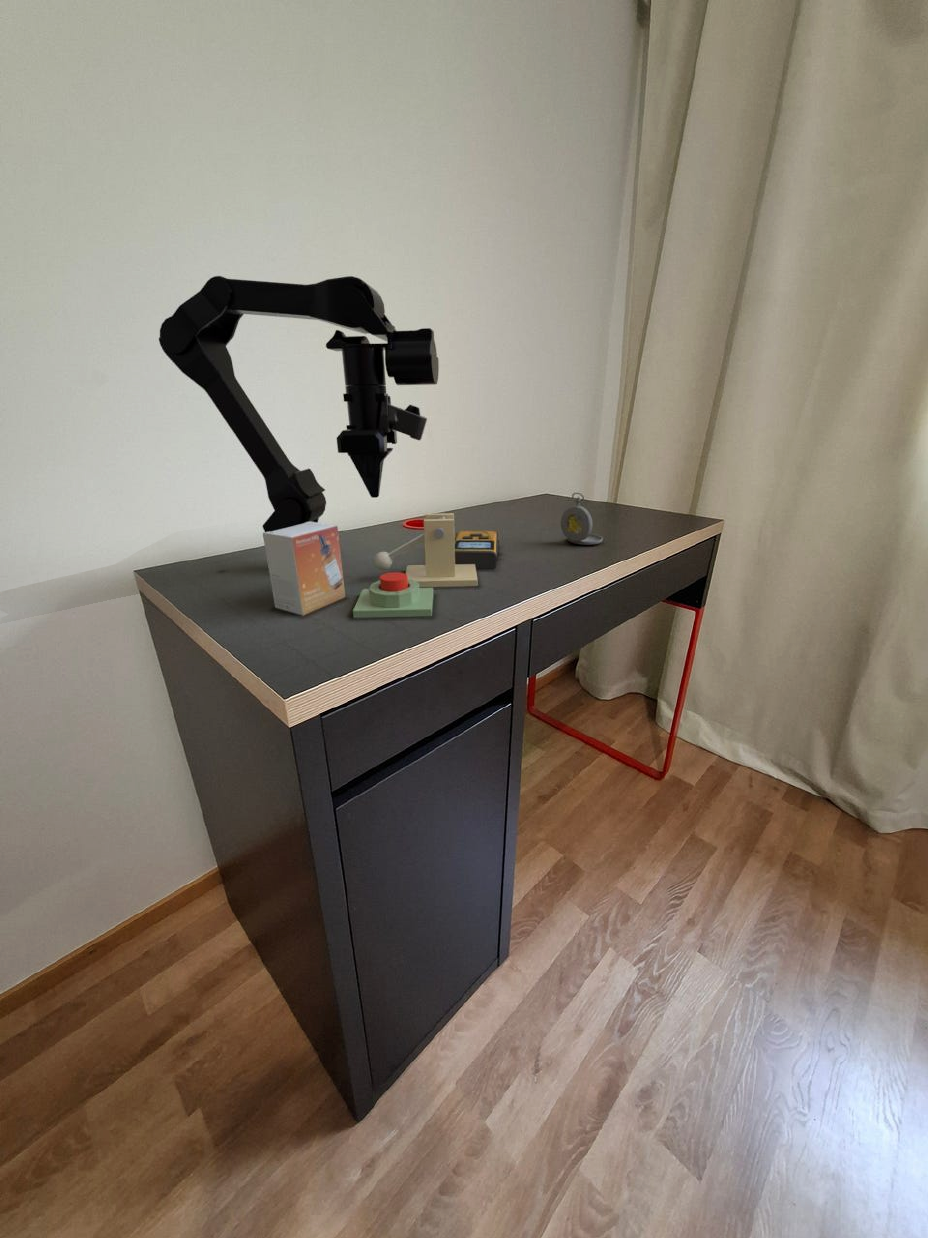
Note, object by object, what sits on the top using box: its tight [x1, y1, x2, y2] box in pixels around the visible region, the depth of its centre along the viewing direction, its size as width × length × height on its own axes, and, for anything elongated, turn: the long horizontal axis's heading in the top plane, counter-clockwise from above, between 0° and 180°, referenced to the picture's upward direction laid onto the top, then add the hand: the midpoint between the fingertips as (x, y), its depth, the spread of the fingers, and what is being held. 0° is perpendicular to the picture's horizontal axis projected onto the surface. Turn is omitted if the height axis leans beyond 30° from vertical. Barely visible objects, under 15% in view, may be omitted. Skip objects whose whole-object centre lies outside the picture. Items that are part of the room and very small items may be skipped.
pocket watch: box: [560, 492, 604, 546], centre depth 93 cm, size 8×8×10 cm
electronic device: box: [454, 530, 500, 570], centre depth 87 cm, size 8×16×3 cm, turn 176°
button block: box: [352, 579, 434, 619], centre depth 65 cm, size 10×8×3 cm
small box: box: [262, 521, 346, 616], centre depth 65 cm, size 8×6×10 cm
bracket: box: [405, 512, 479, 588], centre depth 74 cm, size 11×8×10 cm
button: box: [379, 571, 408, 592], centre depth 65 cm, size 4×4×2 cm
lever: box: [373, 516, 445, 571], centre depth 74 cm, size 13×3×3 cm, turn 93°
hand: (375, 497), depth 76 cm, fingers closed
